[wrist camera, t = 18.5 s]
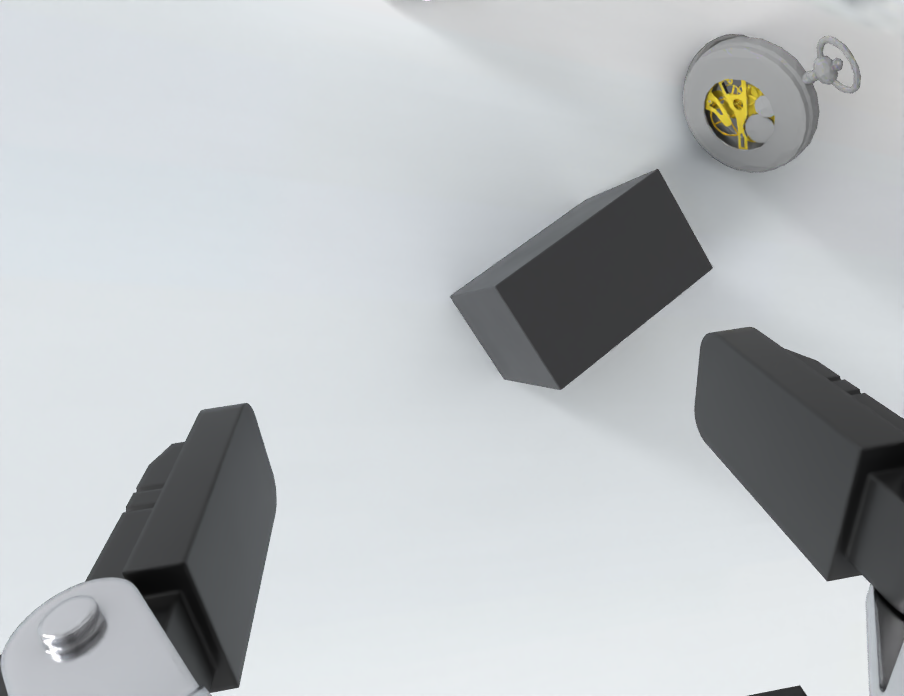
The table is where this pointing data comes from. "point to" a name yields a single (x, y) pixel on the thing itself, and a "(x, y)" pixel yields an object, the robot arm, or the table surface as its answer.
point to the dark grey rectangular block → (583, 283)
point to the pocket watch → (757, 100)
